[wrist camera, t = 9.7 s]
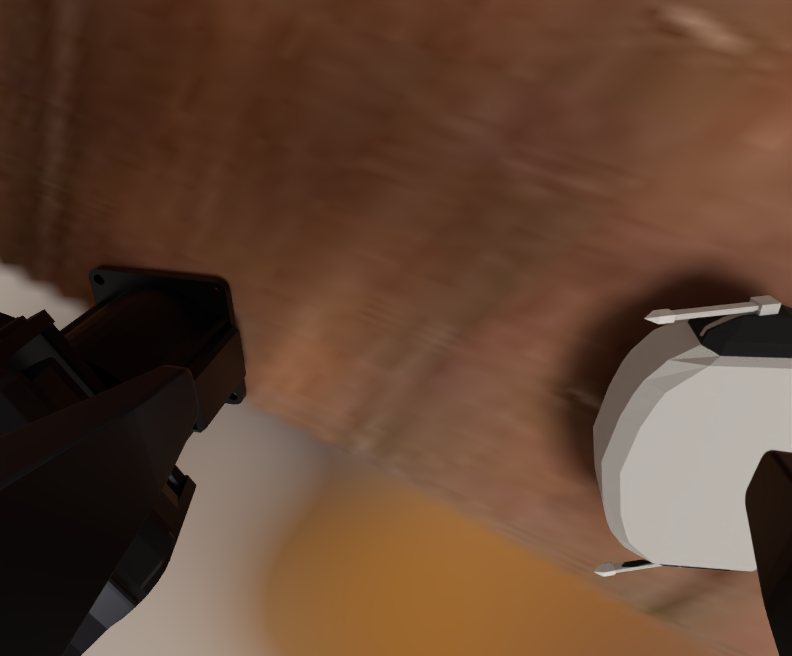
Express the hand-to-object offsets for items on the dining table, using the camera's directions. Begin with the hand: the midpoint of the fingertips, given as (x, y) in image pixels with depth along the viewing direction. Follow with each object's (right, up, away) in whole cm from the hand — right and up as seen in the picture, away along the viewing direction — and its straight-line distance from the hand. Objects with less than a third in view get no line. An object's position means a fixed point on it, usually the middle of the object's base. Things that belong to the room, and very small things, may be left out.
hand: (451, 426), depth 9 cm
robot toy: (+15, -2, +13) cm, 20 cm away
